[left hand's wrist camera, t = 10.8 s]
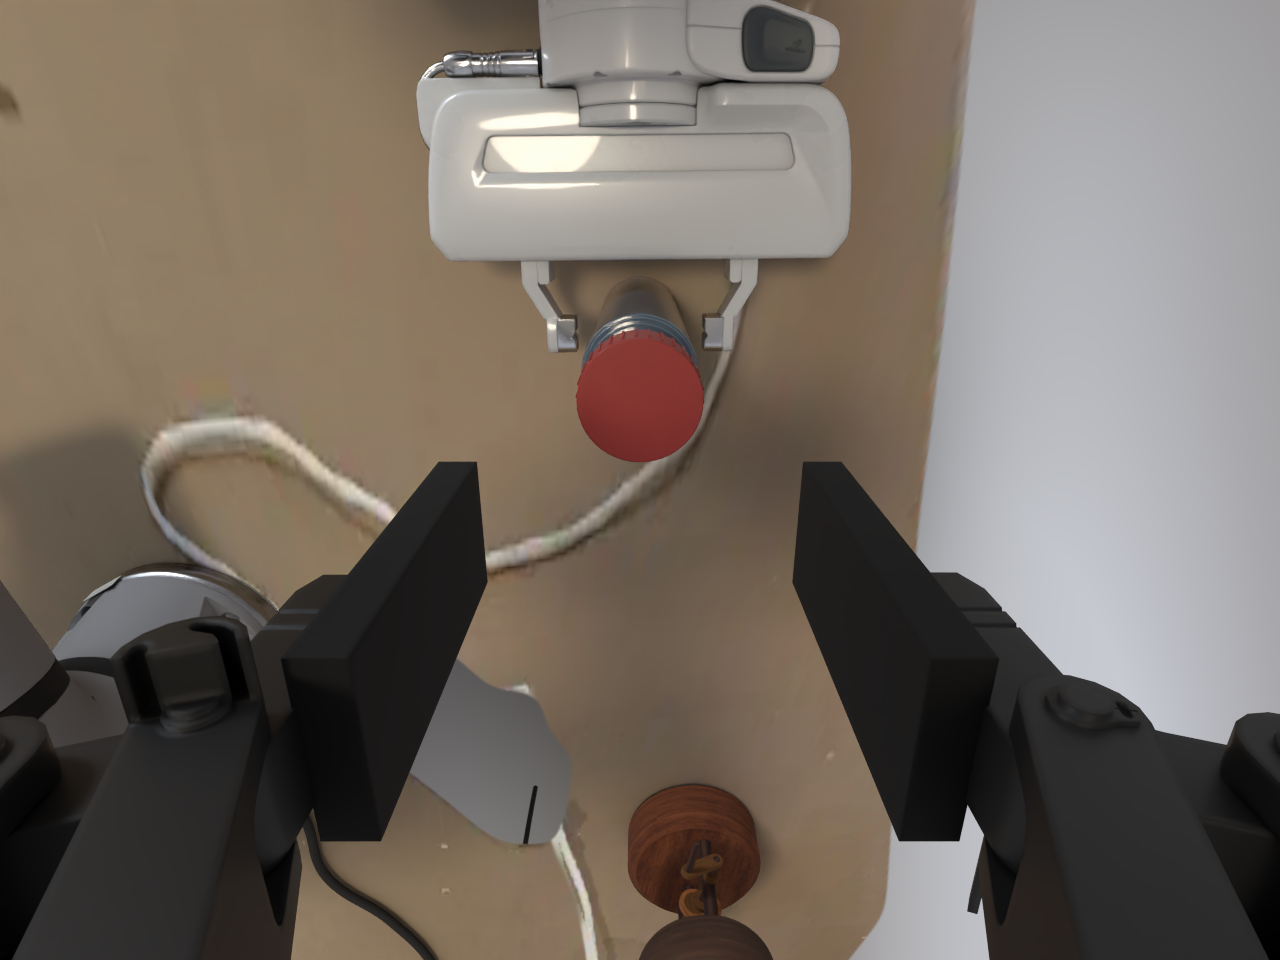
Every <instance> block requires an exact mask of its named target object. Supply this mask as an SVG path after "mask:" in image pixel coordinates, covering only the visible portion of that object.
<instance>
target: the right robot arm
mask: <svg viewBox="0 0 1280 960" xmlns="http://www.w3.org/2000/svg"><path fill="white" fill-rule="evenodd" d="M538 6H539V25H540V42H541V47H540V48H539V49H537V50H533V49H526V50H503V51H500V52H499V51H496V52H489V53H483V54H482V53H473V52H472V51H464V50H462V51H453V52H448V53H445V54H444V56H443V61H440V62H437V63H435V64H433V65H432V66H430V67H429V68H428V69H427V70H426V71H425V72H424V74H423V75H422V77H421V78H420V80H419V83H418V86H417V92H416V102H417V111H418V120H419V129H420V133H421V136H422V139H423V141H424V143H425V145H426V146H427V148H428V149H429V150H430V156H429V183H428V190H429V222H430V233H431V239H432V242H433V243H434V245H435V246H436V247H437V249H438V250H439V251H440V252H441V253H442V254H443V255H444V256H445V257H446V258H447V260H449V261H452V262H469V261H521V274H522V285H523V287H524V289H525V290H526V292H527V293H528V295H529V296H530V298H531V300H532V301H533V303H534V304H535V306H536V307H537V309H538V310H539V312H540V314H541V315H542V317H543V318H544V319H546V321H547V338H548V350H549V353H558V352H559V353H561V352H577V350H578V348H579V335H578V334H577V333H576V330H577V328H578V315H573V314H562V312H561V310H560V309H559V307H558V305H557V304H556V302H555V300H554V298H553V297H552V295H551V293H550V292H549V290H548V288H547V287H546V285H545V284H549V283H550V282H551V281H552V280H553V279H554V261H568V260H667V259H725V277H726V278H727V279H728V280H729V281H731V282H732V283H734V284H733V286H732V287H731V289H730V291H729V293H728V294H727V296H726V298H725V300H724V301H723V303H722V305H721V307H720V308H719V310H718V313H702V327H703V328H704V332H703V333H702V348H703V350H704V351H731V350H732V344H733V318H734V317H736V316H737V315H738V313H739V311H740V310H741V308H742V306H743V305H744V303H745V302H746V300H747V298H748V297H749V295H750V294H751V292H752V290H753V289H754V287H755V285H756V284H757V273H758V259H766V258H828V257H830V256H832V255H833V254H834V253H835V252H836V250H837V249H838V248H839V247H840V246H841V244H842V243H843V242H844V241H845V239H846V237H847V235H848V231H849V222H850V208H851V149H850V135H849V126H848V121H847V117H846V114H845V111H844V109H843V107H842V105H841V103H840V101H839V100H838V98H837V97H836V96H835V95H834V94H833V93H832V92H831V91H829V90H828V89H826V88H824V87H822V86H821V85H822V84H824V83H825V82H826V81H827V80H828V79H829V78H830V76H831V75H832V74H833V72H834V70H835V68H836V66H837V62H838V58H839V50H840V48H839V47H840V36H839V32H838V30H837V28H836V27H835V26H834V25H833V24H832V23H830V22H829V21H827V20H824V19H822V18H820V17H817V16H814V15H811V14H809V13H806V12H803V11H800V10H797V9H795V8H792V7H789V6H786V5H784V4H781V3H778V2H776V1H773V0H538ZM443 71H445V74H446V76H447V77H450V78H433V77H434V76H435V75H437V74H438V73H441V72H443ZM541 75H542V79H541ZM484 76H485V77H490V76H491V77H494V78H476V77H484ZM542 81H543V87H544V88H542Z"/></svg>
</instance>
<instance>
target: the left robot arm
mask: <svg viewBox="0 0 1280 960" xmlns="http://www.w3.org/2000/svg"><path fill="white" fill-rule="evenodd" d="M486 585H487V571H486V560H485V548H484V537H483V526H482V515H481V504H480V492H479V481H478V470H477V462H438V463H437V465H436V466H435V467H434V468H433V470H432V471H431V472H430V473H429V475H428V476H427V477H426V478H425V480H424V481H423V482H422V483H421V485H420V486H419V487H418V488H417V490H416V491H415V492H414V493H413V495H412V496H411V497H410V498H409V499H408V501H407V502H406V503H405V504H404V506H403V507H402V508H401V509H400V511H399V512H398V513H397V514H396V516H395V517H394V518H393V519H392V521H391V522H390V523H389V524H388V526H387V527H386V528H385V529H384V531H383V532H382V533H381V534H380V536H379V537H378V538H377V539H376V541H375V542H374V543H373V544H372V545H371V547H370V548H369V549H368V550H367V552H366V553H365V554H364V555H363V557H362V558H361V559H360V560H359V562H358V563H357V564H356V565H355V567H354V568H353V569H352V570H351V572H350V573H349V574H348V575H322V576H321V577H319V578H317V579H316V580H314V581H312V582H311V583H309V584H307V585H305V586H304V587H302V588H300V589H299V590H297V591H296V592H295V593H294V594H293V595H292V596H291V597H290V598H289V599H288V600H287V601H286V603H285V604H284V605H283V606H282V607H281V608H280V609H279V613H278V614H277V613H276V611H275V610H274V609H273V608H272V607H271V606H270V605H269V604H268V603H267V602H266V601H265V600H264V599H263V598H262V597H260V596H259V595H258V594H257V593H255V592H254V591H253V590H251V589H250V588H249V587H247V586H245V585H244V584H242V583H241V582H239V581H237V580H235V579H233V578H231V577H229V576H227V575H225V574H222V573H220V572H217V571H214V570H211V569H208V568H204V567H201V566H196V565H191V564H183V563H156V564H150V565H144V566H141V567H137V568H134V569H132V570H129V571H127V572H125V573H123V574H121V575H119V576H118V577H116V578H115V579H113V580H112V581H110V582H108V583H107V584H105V585H103V586H101V587H100V588H98V589H96V590H94V591H93V592H92V593H91V594H90V595H89V596H88V597H87V598H86V599H85V600H86V601H85V600H84V601H85V602H84V603H83V604H82V606H81V607H80V608H79V610H78V612H77V613H76V615H75V617H74V618H73V620H72V622H71V624H70V626H69V629H68V631H67V633H66V634H65V635H64V636H63V637H62V638H61V640H60V641H59V642H58V644H57V645H56V647H55V648H54V650H53V651H51V650H50V648H49V647H48V646H47V644H46V643H45V641H44V640H43V639H42V637H41V636H40V635H39V633H38V632H37V630H36V629H35V628H34V626H33V625H32V624H31V622H30V621H29V619H28V618H27V617H26V615H25V614H24V613H23V611H22V610H21V608H20V607H19V606H18V604H17V603H16V602H15V600H14V599H13V597H12V596H11V595H10V593H9V592H8V591H7V589H6V588H5V586H4V585H3V584H2V582H1V581H0V960H291V953H292V944H293V936H294V928H295V920H296V912H297V904H298V895H299V887H300V879H301V871H302V863H301V856H300V850H299V846H298V842H297V835H298V834H299V832H300V830H301V828H302V826H303V829H304V831H305V834H306V838H307V842H308V846H309V851H310V855H311V859H312V862H313V865H314V867H315V869H316V871H317V872H318V874H319V876H320V877H321V878H322V880H323V881H324V882H325V883H326V884H327V885H328V886H329V887H330V888H331V889H332V890H334V891H335V892H336V893H338V894H339V895H340V896H342V897H343V898H345V899H347V900H348V901H350V902H352V903H354V904H355V905H357V906H359V907H361V908H363V909H365V910H366V911H368V912H370V913H372V914H373V915H375V916H376V917H378V918H379V919H381V920H382V921H383V922H385V923H386V924H387V925H388V926H390V927H391V928H392V929H393V930H394V931H395V932H397V933H398V934H399V935H400V936H401V937H402V938H404V939H405V940H406V941H407V942H408V943H409V944H410V945H411V946H412V947H413V948H414V949H415V950H416V951H417V952H418V953H419V954H420V956H421V957H422V958H423V959H424V960H435V959H434V958H433V956H432V955H431V953H430V952H429V950H428V949H427V948H426V947H425V945H424V944H423V943H422V942H421V941H420V940H419V939H418V938H417V937H416V936H415V935H414V934H413V933H412V932H410V931H409V930H408V929H407V928H406V927H405V926H404V925H402V924H401V923H400V922H399V921H398V920H397V919H395V918H394V917H393V916H392V915H391V914H389V913H388V912H387V911H385V910H384V909H382V908H381V907H379V906H378V905H376V904H374V903H373V902H371V901H369V900H367V899H365V898H364V897H362V896H360V895H358V894H356V893H355V892H353V891H351V890H350V889H348V888H347V887H345V886H344V885H343V884H341V883H340V882H339V881H338V880H337V879H336V878H335V877H334V876H333V875H332V874H331V873H330V872H329V871H328V869H327V868H326V866H325V864H324V863H323V860H322V858H321V855H320V852H319V848H318V843H317V838H316V833H315V830H314V827H313V824H312V821H311V819H310V817H309V816H308V815H309V814H310V812H311V810H312V808H313V809H314V813H315V818H316V822H317V827H318V832H319V836H320V841H381V840H382V837H383V835H384V833H385V830H386V828H387V825H388V823H389V820H390V818H391V816H392V813H393V811H394V808H395V806H396V803H397V801H398V799H399V796H400V794H401V791H402V789H403V786H404V784H405V782H406V779H407V777H408V774H409V772H410V769H411V767H412V765H413V762H414V760H415V757H416V755H417V752H418V750H419V747H420V745H421V743H422V740H423V738H424V735H425V733H426V731H427V728H428V726H429V723H430V721H431V718H432V716H433V714H434V711H435V709H436V706H437V704H438V701H439V699H440V697H441V694H442V691H443V689H444V687H445V684H446V682H447V679H448V677H449V675H450V672H451V670H452V667H453V665H454V662H455V660H456V658H457V655H458V653H459V650H460V648H461V645H462V643H463V641H464V638H465V636H466V633H467V631H468V628H469V626H470V624H471V621H472V619H473V616H474V614H475V611H476V609H477V607H478V604H479V602H480V599H481V597H482V594H483V592H484V590H485V587H486ZM793 585H794V587H795V590H796V592H797V594H798V597H799V599H800V602H801V604H802V607H803V609H804V611H805V614H806V616H807V619H808V621H809V624H810V626H811V628H812V631H813V633H814V636H815V638H816V641H817V643H818V645H819V648H820V650H821V653H822V655H823V658H824V660H825V662H826V665H827V667H828V670H829V672H830V675H831V677H832V680H833V682H834V684H835V687H836V689H837V692H838V694H839V697H840V699H841V701H842V704H843V706H844V709H845V711H846V714H847V716H848V718H849V721H850V723H851V726H852V728H853V731H854V733H855V735H856V738H857V740H858V743H859V745H860V748H861V750H862V752H863V755H864V757H865V760H866V762H867V765H868V767H869V769H870V772H871V774H872V777H873V779H874V782H875V784H876V786H877V789H878V791H879V794H880V796H881V799H882V801H883V803H884V806H885V808H886V811H887V813H888V816H889V818H890V820H891V823H892V825H893V828H894V830H895V833H896V835H897V837H898V840H899V841H960V836H961V831H962V827H963V822H964V818H965V813H966V809H967V805H968V806H969V808H970V810H971V812H972V814H973V815H974V817H975V819H976V821H977V823H978V824H979V826H980V828H981V830H982V832H983V834H984V837H983V842H982V846H981V850H980V854H979V859H978V863H977V867H976V871H975V876H974V880H973V884H972V889H971V893H970V897H969V904H968V910H967V911H968V912H972V913H975V914H977V913H978V909H979V905H980V901H981V898H982V902H983V910H984V918H985V926H986V934H987V942H988V951H989V958H990V960H1280V714H1276V713H1270V712H1266V713H1253V714H1247V715H1245V716H1244V717H1242V718H1240V719H1239V720H1237V721H1236V723H1235V725H1234V728H1233V730H1232V733H1231V736H1230V738H1229V741H1228V744H1227V745H1224V744H1219V743H1214V742H1209V741H1204V740H1199V739H1194V738H1189V737H1185V736H1180V735H1175V734H1170V733H1165V732H1161V731H1157V730H1155V729H1154V727H1153V725H1152V723H1151V722H1150V720H1149V719H1148V718H1147V717H1146V715H1145V714H1144V713H1143V712H1142V710H1141V709H1140V708H1139V707H1138V706H1136V705H1135V704H1133V703H1132V702H1131V701H1129V700H1128V699H1126V698H1125V697H1124V696H1122V695H1121V694H1119V693H1117V692H1115V691H1113V690H1111V689H1109V688H1107V687H1104V686H1102V685H1100V684H1098V683H1096V682H1092V681H1089V680H1085V679H1081V678H1077V677H1074V676H1070V675H1063V674H1062V673H1061V672H1060V671H1059V670H1058V669H1057V668H1056V666H1055V665H1054V664H1053V663H1052V662H1051V661H1050V660H1049V659H1048V658H1047V657H1046V655H1045V654H1044V653H1043V652H1042V651H1041V650H1040V649H1039V648H1038V647H1037V646H1036V645H1035V643H1034V642H1033V641H1032V640H1031V639H1030V638H1029V637H1028V636H1027V635H1026V634H1025V632H1024V631H1023V630H1022V629H1021V628H1017V627H1016V623H1015V622H1014V620H1013V619H1012V618H1011V617H1010V616H1009V615H1008V614H1007V613H1006V612H1005V611H1002V607H1001V606H1000V605H999V604H998V603H997V602H996V601H995V600H994V599H993V598H992V596H991V595H990V594H989V593H988V592H987V591H986V590H985V589H984V588H982V587H981V586H979V585H977V584H976V583H974V582H972V581H970V580H969V579H967V578H965V577H964V576H962V575H960V574H958V573H930V572H929V570H928V569H927V568H926V567H925V565H924V564H923V563H922V562H921V560H920V559H919V558H918V557H917V555H916V554H915V553H914V552H913V550H912V549H911V548H910V547H909V545H908V544H907V543H906V542H905V541H904V539H903V538H902V537H901V536H900V534H899V533H898V532H897V531H896V529H895V528H894V527H893V526H892V524H891V523H890V522H889V521H888V519H887V518H886V517H885V516H884V514H883V513H882V512H881V511H880V509H879V508H878V507H877V506H876V504H875V503H874V502H873V501H872V499H871V498H870V497H869V496H868V495H867V493H866V492H865V491H864V490H863V488H862V487H861V486H860V485H859V483H858V482H857V481H856V480H855V478H854V477H853V476H852V475H851V473H850V472H849V471H848V470H847V468H846V467H845V466H844V465H843V463H842V462H803V470H802V481H801V492H800V504H799V515H798V526H797V537H796V548H795V560H794V571H793ZM537 790H538V786H536V785H535V786H533V790H532V795H531V800H530V806H529V811H528V816H527V822H526V828H525V833H524V839H523V844H528V841H529V835H530V829H531V823H532V817H533V811H534V806H535V800H536V795H537Z"/></svg>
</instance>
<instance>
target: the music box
mask: <svg viewBox="0 0 1280 960" xmlns="http://www.w3.org/2000/svg"><path fill="white" fill-rule="evenodd" d="M759 870H760V855H759V850H758V845H757V839H756V834H755V828H754V823H753V820H752V817H751V815H750V813H749V812H748V810H747V809H746V807H745V806H744V805H743V804H742V803H741V802H740V801H739V800H737V799H736V798H735V797H733V796H732V795H730V794H728V793H726V792H724V791H722V790H719V789H716V788H712V787H707V786H699V785H687V786H679V787H674V788H670V789H667V790H664V791H662V792H659V793H657V794H656V795H654V796H652V797H651V798H649V799H648V800H646V801H645V802H644V803H643V804H642V805H641V806H640V807H639V808H638V809H637V811H636V812H635V814H634V815H633V817H632V819H631V822H630V826H629V833H628V872H629V876H630V879H631V881H632V883H633V885H634V887H635V888H636V890H637V891H638V892H639V893H640V894H641V895H642V896H643V897H644V898H645V899H647V900H648V901H650V902H651V903H653V904H655V905H657V906H658V907H660V908H662V909H665V910H667V911H670V912H674V913H678V916H679V919H678V920H676V921H674V922H672V923H670V924H668V925H666V926H665V927H663V928H662V929H660V930H659V931H658V932H657V933H656V934H655V935H654V936H653V937H652V938H651V939H650V940H649V942H648V943H647V944H646V946H645V948H644V949H643V951H642V953H641V956H640V958H639V960H773V958H772V956H771V953H770V951H769V950H768V948H767V946H766V945H765V943H764V942H763V941H762V939H761V938H760V937H759V936H758V935H757V934H756V933H755V932H754V931H752V930H751V929H750V928H748V927H747V926H745V925H744V924H742V923H740V922H738V921H736V920H733V919H730V918H727V917H723V916H720V915H721V911H722V909H724V908H726V907H728V906H730V905H732V904H733V903H735V902H736V901H738V900H739V899H740V898H742V897H743V896H744V895H745V894H746V893H747V892H748V891H749V890H750V889H751V888H752V886H753V885H754V883H755V881H756V879H757V877H758V874H759Z"/></svg>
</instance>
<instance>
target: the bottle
mask: <svg viewBox="0 0 1280 960" xmlns="http://www.w3.org/2000/svg"><path fill="white" fill-rule="evenodd" d="M635 328H637V330H648V329H650V331H654V332H658V333H661V332H662V333H663V335H666V336H667V337H669V338H671V339H672V338H674V339H675V341H676V342H677V343H678V344H679V345H680V346H681V347H682V346H684V348H685V351H686V352H687V353H688V355H689V356H692V358H693V361H694V364H695V367H697V368H698V362H697V357H696V354H695V351H694V348H693V345H692V343H691V340H690V338H689V335H688V333H687V330H686V328H685V325H684V322H683V320H682V317H681V315H680V312H679V310H678V307H677V305H676V302H675V300H674V298H673V296H672V294H671V292H670V291H669V290H668V289H667V288H666V287H665V286H664V285H663V284H662V283H660V282H658V281H657V280H654V279H652V278H648V277H632V278H628V279H626V280H623V281H621V282H620V283H618V284H617V285H616V286H615V287H614V288H613V289H612V290H611V291H610V293H609V294H608V296H607V298H606V300H605V302H604V305H603V307H602V310H601V312H600V315H599V317H598V320H597V323H596V325H595V328H594V330H593V333H592V335H591V338H590V340H589V343H588V345H587V348H586V351H585V354H584V357H583V362H582V369H583V366H584V363H585V362H586V363H587V361H588V359H589V356H590V354H591V352H594V351H595V350H596V349H597V347H598V346H599V343H603V342H604V341H606V340H607V339H609V338H610V336H611V335H612V336H615V335H617V334H619V333H622V331H625V332H626V331H631V330H635ZM582 374H583V373H582Z"/></svg>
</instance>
